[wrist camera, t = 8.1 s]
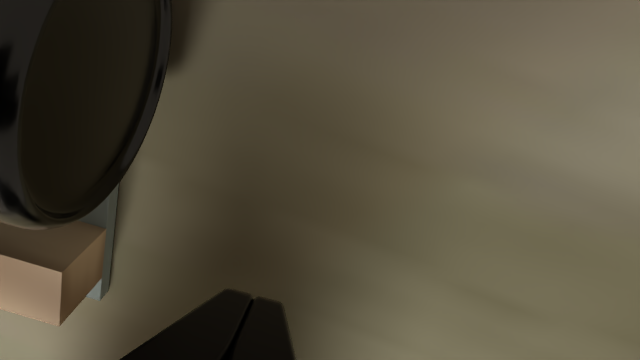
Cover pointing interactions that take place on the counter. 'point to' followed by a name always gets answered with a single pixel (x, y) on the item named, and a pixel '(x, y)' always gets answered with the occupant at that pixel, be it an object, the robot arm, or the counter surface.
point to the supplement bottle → (75, 101)
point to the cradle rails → (49, 269)
